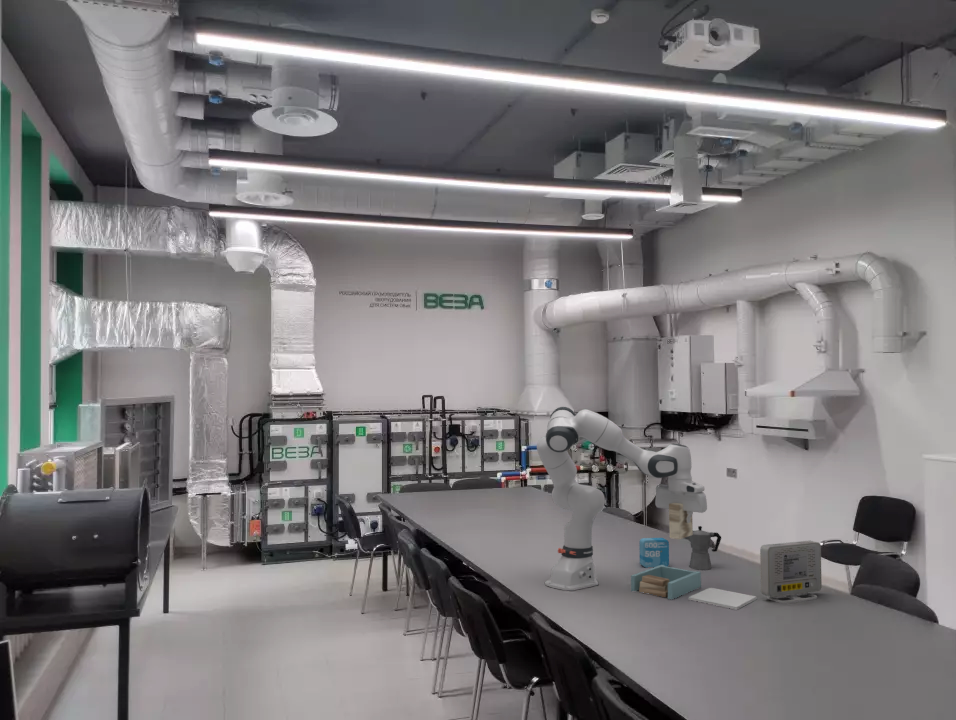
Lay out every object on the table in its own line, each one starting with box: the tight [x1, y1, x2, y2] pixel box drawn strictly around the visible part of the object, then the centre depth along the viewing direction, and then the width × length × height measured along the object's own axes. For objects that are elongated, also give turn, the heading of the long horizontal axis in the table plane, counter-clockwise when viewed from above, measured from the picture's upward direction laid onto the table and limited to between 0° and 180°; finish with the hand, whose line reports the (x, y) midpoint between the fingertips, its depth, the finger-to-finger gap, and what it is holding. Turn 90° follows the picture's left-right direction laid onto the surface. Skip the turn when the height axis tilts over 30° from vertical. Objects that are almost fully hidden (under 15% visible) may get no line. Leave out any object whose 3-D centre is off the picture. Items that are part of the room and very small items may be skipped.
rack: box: [630, 565, 702, 601], centre depth 279 cm, size 24×17×6 cm
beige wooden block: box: [668, 503, 694, 540], centre depth 277 cm, size 11×4×13 cm, turn 137°
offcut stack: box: [638, 575, 669, 598], centre depth 273 cm, size 5×11×6 cm, turn 47°
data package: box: [638, 537, 670, 569], centre depth 316 cm, size 12×4×12 cm, turn 99°
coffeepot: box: [687, 525, 722, 571], centre depth 314 cm, size 15×9×18 cm, turn 72°
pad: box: [688, 587, 757, 611], centre depth 265 cm, size 18×18×1 cm
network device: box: [759, 540, 823, 604], centre depth 268 cm, size 26×9×20 cm, turn 111°
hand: (680, 521), depth 277 cm, fingers closed on beige wooden block, 4 cm apart
